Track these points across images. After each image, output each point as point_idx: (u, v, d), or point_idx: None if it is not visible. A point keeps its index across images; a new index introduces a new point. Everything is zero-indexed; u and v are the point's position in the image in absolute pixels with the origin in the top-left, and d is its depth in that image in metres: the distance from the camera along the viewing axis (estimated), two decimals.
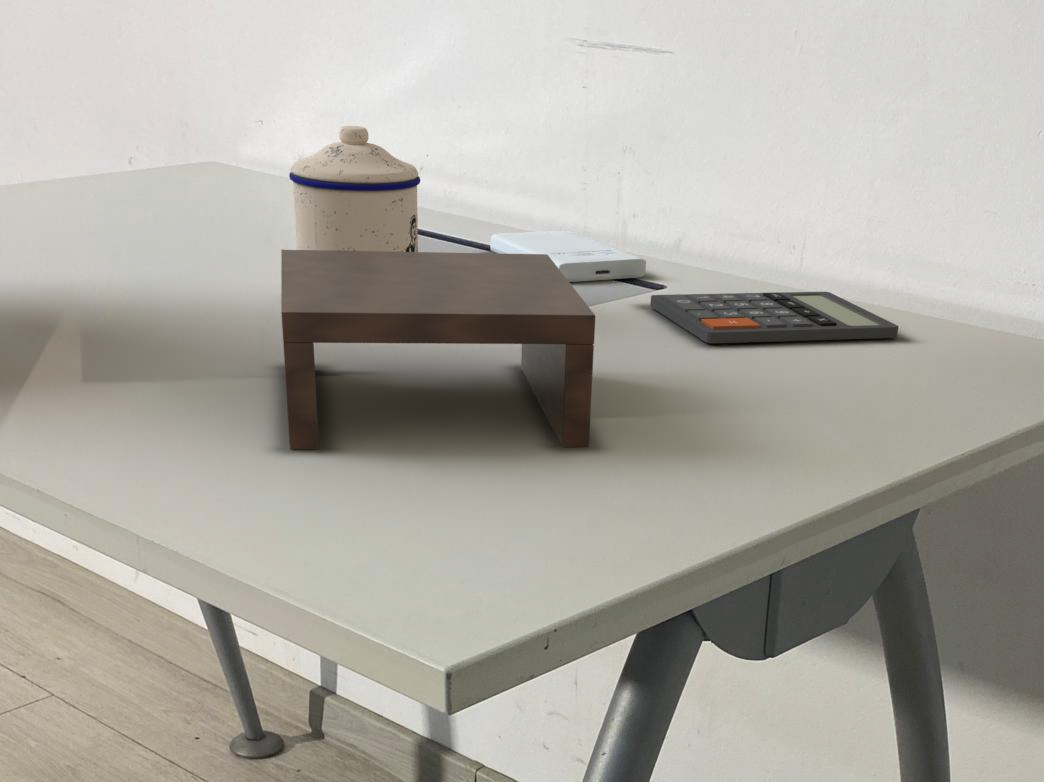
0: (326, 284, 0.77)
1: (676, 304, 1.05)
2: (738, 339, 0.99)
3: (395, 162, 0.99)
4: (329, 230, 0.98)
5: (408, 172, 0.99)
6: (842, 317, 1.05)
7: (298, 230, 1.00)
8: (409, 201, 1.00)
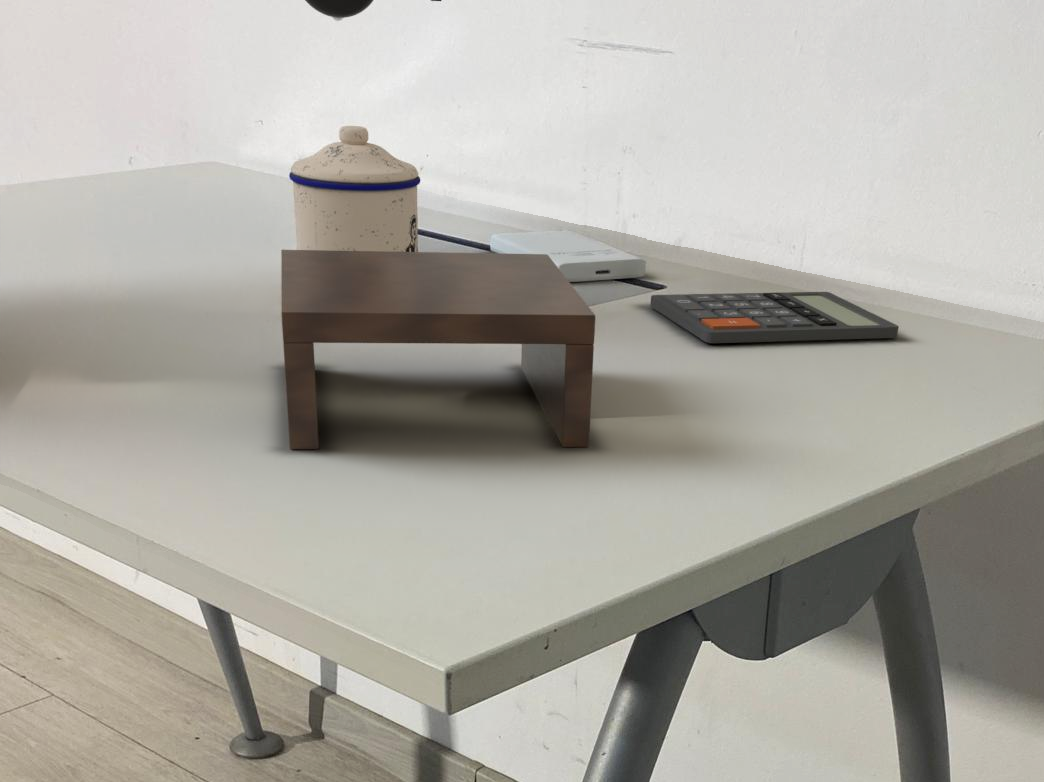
0: (326, 284, 0.77)
1: (676, 304, 1.05)
2: (738, 339, 0.99)
3: (395, 162, 0.99)
4: (329, 230, 0.98)
5: (408, 172, 0.99)
6: (842, 317, 1.05)
7: (298, 230, 1.00)
8: (409, 201, 1.00)
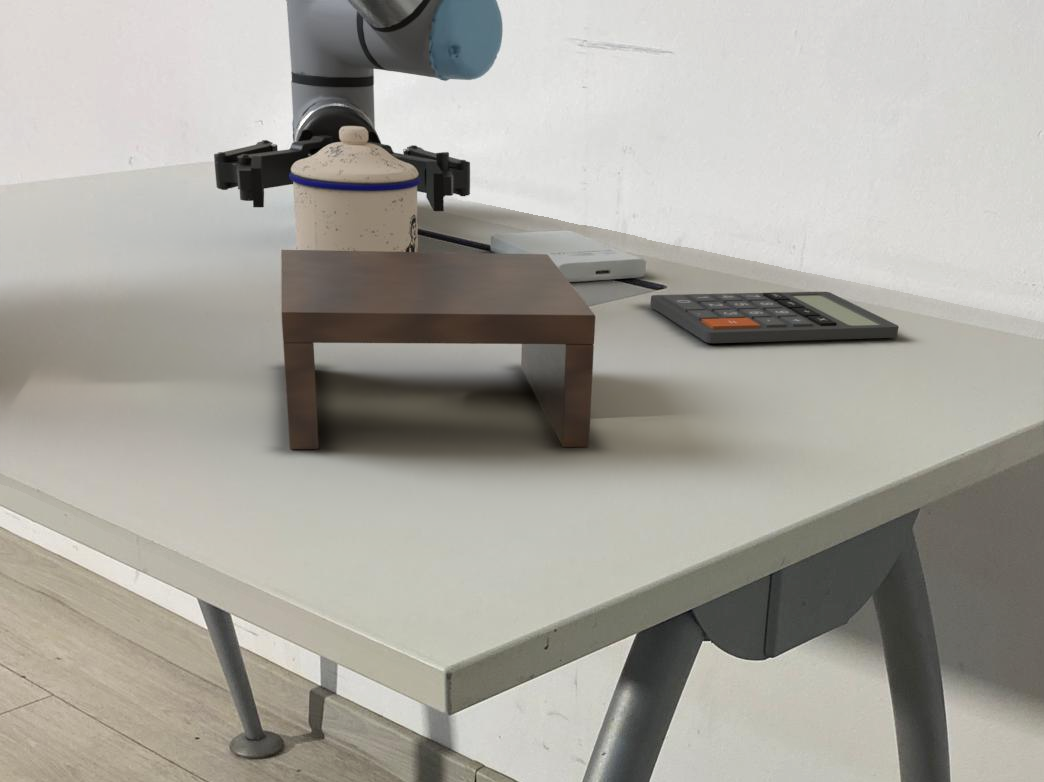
0: (326, 284, 0.77)
1: (676, 304, 1.05)
2: (738, 339, 0.99)
3: (395, 162, 0.99)
4: (329, 230, 0.98)
5: (408, 172, 0.99)
6: (842, 317, 1.05)
7: (298, 230, 1.00)
8: (409, 201, 1.00)
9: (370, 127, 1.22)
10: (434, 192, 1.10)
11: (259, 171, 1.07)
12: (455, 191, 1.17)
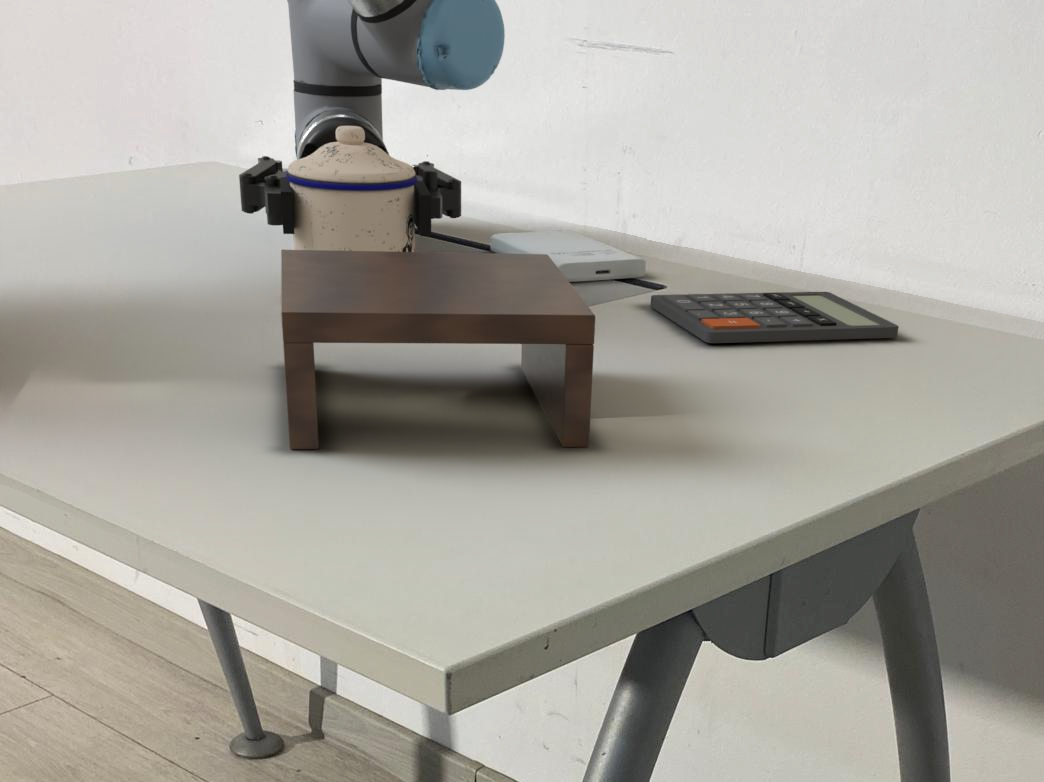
0: (326, 284, 0.77)
1: (676, 304, 1.05)
2: (738, 339, 0.99)
3: (391, 162, 0.99)
4: (325, 230, 0.98)
5: (404, 172, 0.99)
6: (842, 317, 1.05)
7: (295, 230, 1.00)
8: (405, 201, 0.99)
9: (378, 140, 1.14)
10: (421, 215, 0.99)
11: (290, 195, 0.97)
12: (444, 212, 1.07)
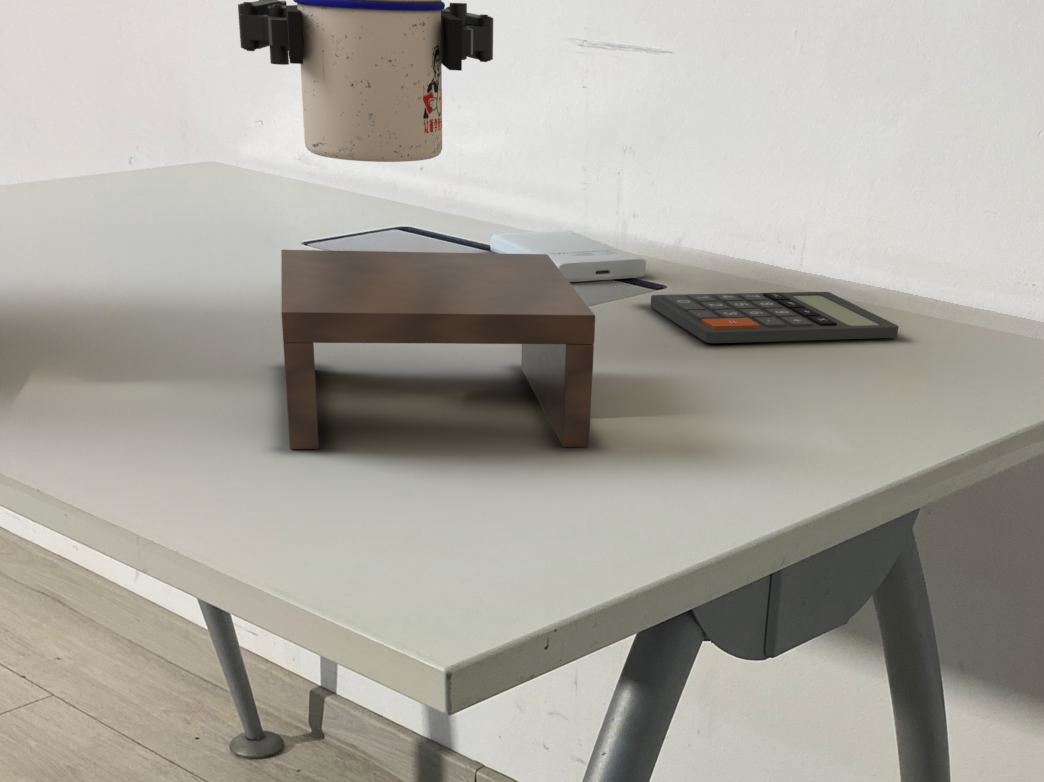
0: (326, 284, 0.77)
1: (676, 304, 1.05)
2: (738, 339, 0.99)
3: None
4: (339, 59, 0.84)
5: None
6: (842, 317, 1.05)
7: (303, 63, 0.86)
8: (432, 27, 0.86)
9: None
10: (450, 44, 0.86)
11: (298, 15, 0.83)
12: (474, 55, 0.93)
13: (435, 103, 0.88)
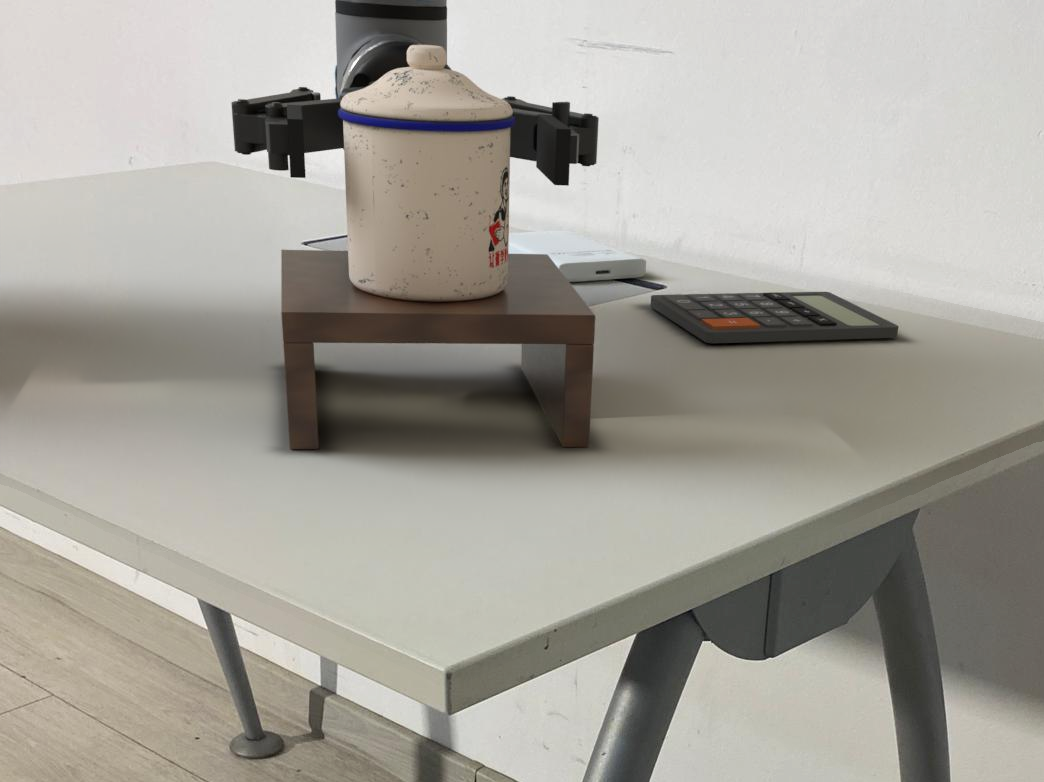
0: (326, 284, 0.77)
1: (676, 304, 1.05)
2: (738, 339, 0.99)
3: (483, 94, 0.73)
4: (392, 186, 0.72)
5: (501, 108, 0.72)
6: (842, 317, 1.05)
7: (349, 187, 0.74)
8: (501, 148, 0.73)
9: None
10: (556, 156, 0.74)
11: (300, 123, 0.71)
12: None
13: (502, 232, 0.75)
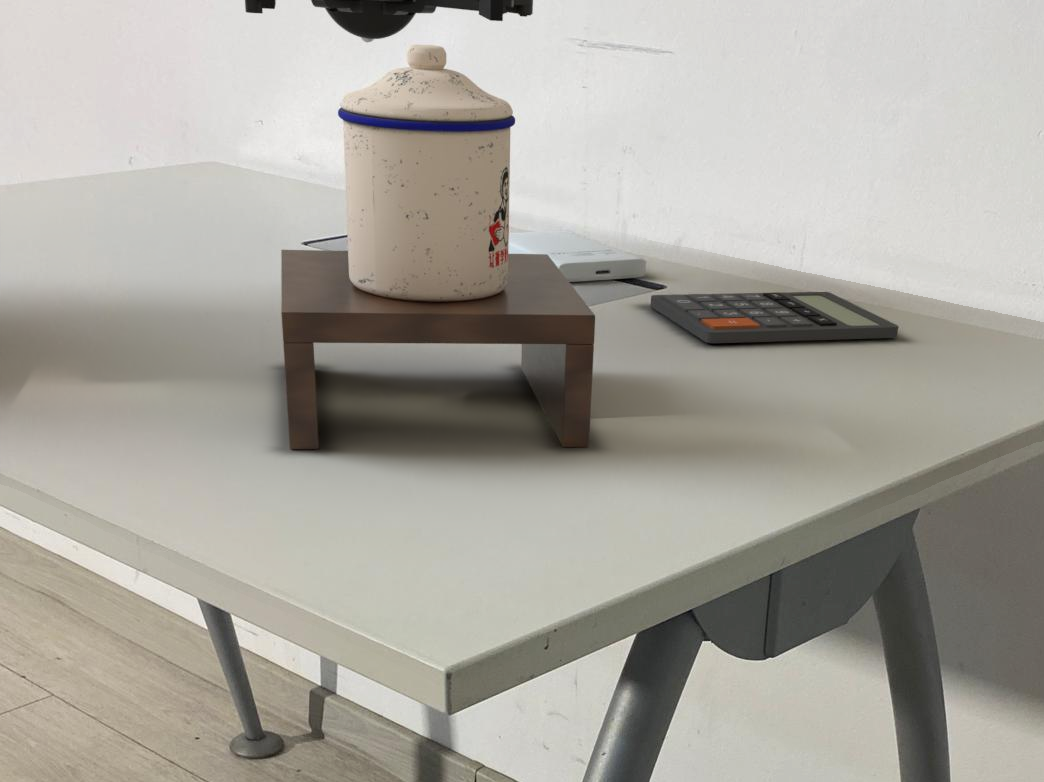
0: (326, 284, 0.77)
1: (676, 304, 1.05)
2: (738, 339, 0.99)
3: (483, 94, 0.73)
4: (392, 186, 0.72)
5: (501, 108, 0.72)
6: (842, 317, 1.05)
7: (349, 187, 0.74)
8: (501, 148, 0.73)
9: None
10: None
11: None
12: (514, 10, 0.94)
13: (502, 232, 0.75)
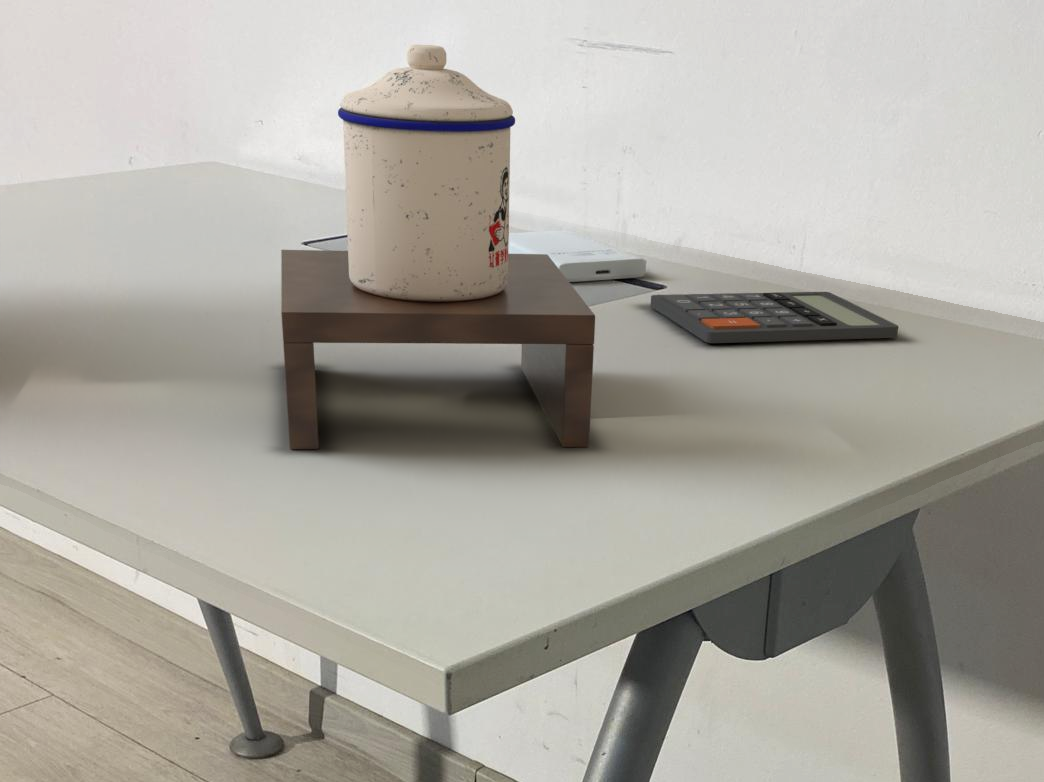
0: (326, 284, 0.77)
1: (676, 304, 1.05)
2: (738, 339, 0.99)
3: (483, 94, 0.73)
4: (392, 186, 0.72)
5: (501, 107, 0.72)
6: (842, 317, 1.05)
7: (349, 187, 0.74)
8: (501, 148, 0.73)
9: None
10: None
11: None
12: None
13: (502, 232, 0.75)
